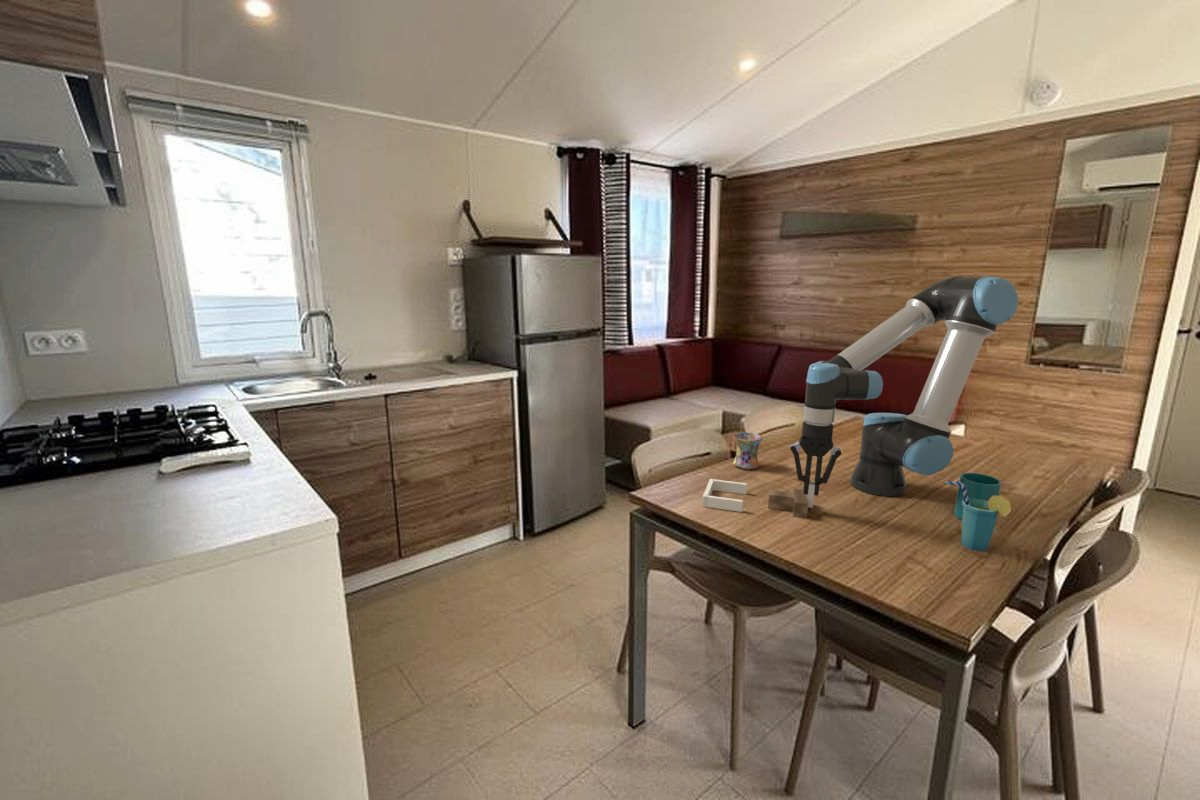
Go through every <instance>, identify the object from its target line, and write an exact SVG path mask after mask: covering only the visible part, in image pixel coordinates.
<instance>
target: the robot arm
mask: <svg viewBox="0 0 1200 800" xmlns="http://www.w3.org/2000/svg"><path fill="white" fill-rule="evenodd" d="M1018 305H1019V296H1018V292H1017V291H1016V287H1015V286H1014V285H1013V283H1012V282H1011V281H1009V279H1006V278H1003V277H998V276H991V275H985V276H960V275H958V276H956V275H955V276H951V277H947V278H944V279H941V280H939V281H937V282H935V283H932V284H931V285H929V286H928V287H926V288H924V289H923V290H921V291H920V292H918V293H916V294H915V295H914V296H912V297H911V298H910V299H907V300H906V303H905V306H904V307H903V308H902V309H900V310H899V311H898V312H896V313H894V314H893V315H892V316H890V317H889V318H887V319H886V320H885V321H883V322H881V324H879V325H878V326H876V327H874V328H873V329H872V330H871V331H869V332H867V333H866V334H865V335H863V336H862V337H860V338H859V339H858V340H856V341H855V342H853V343H852V344H851V345H849V346H847V347H846V348H845V349H844V350H842V351H841V352H840V353H838V354H836V355H835V356H834V357H832V358H831V359H830V360H820V361H816V362H815V363H811V364H809V367H808V370H807V374H806V375H807V376H806V380H805V383H806V386H805V398H804V399H805V400H804V409H803V418H802V419H803V420H804V421H803V422H802V429H801V436H800V438H799V440H798V442H796V443H791V444H790V446H789V447H790V451H791V452H792V454H793V457H794V458H793V459H794V464H795V468H796V475H797V479H798V481H799V482H800V481H801V482H803V490H804V494H807V496H808V508H811V509H812V508H814V499H815V496H817V497H818V496H819V494H820V493H819V492H820V485H822V484H828V481H829V479H830V476H831V474H832V471H833V469H834V466H835V464H836V461H837V460H838V458H839V457H840V456H841V455H842V450H841V448H838V447H836V446H835V445H834V442H833V433H834V424H833V423H834V422H835V415H836V414H835V413H836V405H837V401H845V400H846V401H847V400H849V401H850V400H851V401H853V400H854V401H855V400H856V401H857V400H863V401H866V400H872V399H877V398H879V396H881V394H882V391H883V386H884V381H883V377H882V375H881V374H880V373H879V372H877V371H876V370H868V369H865V368H867V367H869V366H870V365H871V364H873V363H875V362H876V361H877V360H879V359H880V358H881V357H882V356H884V355H885V354H887V353H889V352H890V351H892V350H893V349H895V348H896V347H897V346H898V345H900V344H901V343H903V342H904V341H906V340H907V339H909V338H910V337H911V336H913V335H914V334H916V333H917V332H919V331H920V330H921V329H922V328H924V327H925V328H930V327H932V326H933V325H935V324H936V323H938V322H941V321H944V324H945V326H946V328H947V331H946V333H945V335H944V338H943V340H942V343H941V345H940V348H939V350H938V353H937V354H936V357H935V359H934V362H933V364H932V367H931V370H930V372H929V374H928V376H927V379H926V381H925V384H924V386H923V388H922V391H921V394H920V396H919V398H918V401H917V403H916V405H915V407H914V410H913V412H912V413H910V414H908V415H907V414H903V413H894V412H872V413H868V414H866V415H865V417H864V418H863V419H864V421H863V424H862V433H861V434H862V435H861V441H860V442H861V443H860V453H859V460H858V461H857V463H856V464H855V465H856V466H855V467H854V469H853V471H852V472H851V474H850V475H851V476H850V482H849V483H850V485H851V486H852V487H853V488H854V489H856V490H859V491H860V492H864V493H865V494H866V493H867V494H870V495H876V496H882V497H883V496H884V497H897V496H902V495H904V494H905V493H906V490H907V482H906V477H905V472H904V469H906V470H908V471H909V472H912V473H913V472H914V473H916V474H918V475H921V476H922V475H923V476H930V475H931V476H932V475H935V474H936V473H938V472H941V471H943V470H944V469H945V468H946V467H947V466H948V465H949V464H950V463H951V461H952V459H953V456H954V453H955V451H954V450H955V449H954V448H953V447H954V445H953V443H952V441H950V437H951V434H952V430H951V427H950V425H949V422H950V420H951V418H952V416H953V414H954V410H955V409H956V406H957V404H958V401H959V399H960V396H961V395H962V392H963V390H964V388H965V385H966V382H967V381H968V378H969V375H970V373H971V370H972V369H973V367H974V364H975V362H976V360H977V357H978V354H979V352H980V349H981V348H982V346H983V343H984V341H985V339H986V338H988V337H990V336H993V335H994V334H995V333H996V330H997V328H998V326H999V325H1003V324H1004V323H1007V322H1008V321H1010V320H1012V318H1013V317H1014V316H1015V314H1016V312H1017V310H1018V307H1019V306H1018ZM801 449H802V450H803V452H804V454H805V455H806V462H805V471H804V472H805V473H804V474H803V471H802V464H801V459H800V453H799V452H800V451H801ZM829 452H830V454H831V455H830V457H829V459H828V461H827V464H826V467H825V469H824V472H823V475H821V474H822V467H823V465H822V464H823V457H825V456H826V455H827V454H828V453H829ZM813 457H816V462H815V463H816V464H815V472H814V481H811V474H812V473H811V472H812V463H813ZM903 468H904V469H903ZM821 476H822V477H821Z"/></svg>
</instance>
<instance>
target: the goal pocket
mask: <svg viewBox="0 0 1200 800" xmlns="http://www.w3.org/2000/svg"><path fill="white" fill-rule="evenodd" d="M747 488H748V483H746V482H738V481H730V480H723V479H722V480H721V479H714V478H710V479H709V480H708V483H707V485H706V487H705V489H704V492H703V495H702V500H701V501H702V503H701V507H703V508H711V509H717V510H725V511H732V512H740V513H743V508H744V507H743V505H744V500H743V499H736V498H732V497H731V498H728V497H724V496H723V497H721V496H715V495H712V494H713V491H717V492H723V493H733V494H739V495H747Z"/></svg>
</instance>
